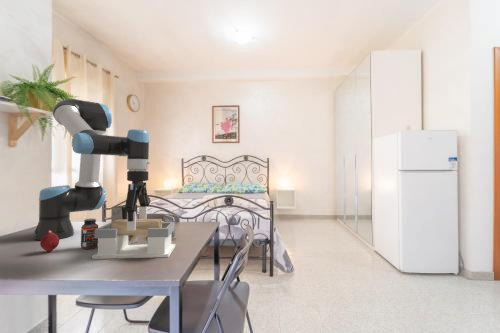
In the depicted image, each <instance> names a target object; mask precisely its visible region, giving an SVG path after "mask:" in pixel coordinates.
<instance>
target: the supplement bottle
mask: <svg viewBox="0 0 500 333" xmlns="http://www.w3.org/2000/svg"><path fill="white" fill-rule="evenodd" d="M96 220H97V219H96V218H85V219H84V224H82V226H81V232H80V248H81V249H83V250H90V249H91V250H92V249H95V248H98V238H95V229H98V228H99V225H98V223H96V222H97V221H96Z"/></svg>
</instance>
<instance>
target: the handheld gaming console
mask: <svg viewBox="0 0 500 333" xmlns="http://www.w3.org/2000/svg"><path fill="white" fill-rule="evenodd" d="M175 219H176V218H175V217H174V216H171V215H169V214H163V222H175V223H176V220H175ZM146 236H147V238H148V235H146ZM176 240H177V237H176V227H175V228H174V231H173V232H172V233H171V241H176Z"/></svg>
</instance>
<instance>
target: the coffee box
mask: <svg viewBox="0 0 500 333" xmlns="http://www.w3.org/2000/svg"><path fill="white" fill-rule="evenodd" d="M124 210H125V204H123V205H116V206H111V216H110V218H111V219H110V223H111V222H113V221H115V220H120V219H127V212H124ZM134 212H136V219H138V204H136V208H135V211H134ZM137 242H138V235H128V245H133V244H135V243H137Z"/></svg>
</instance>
